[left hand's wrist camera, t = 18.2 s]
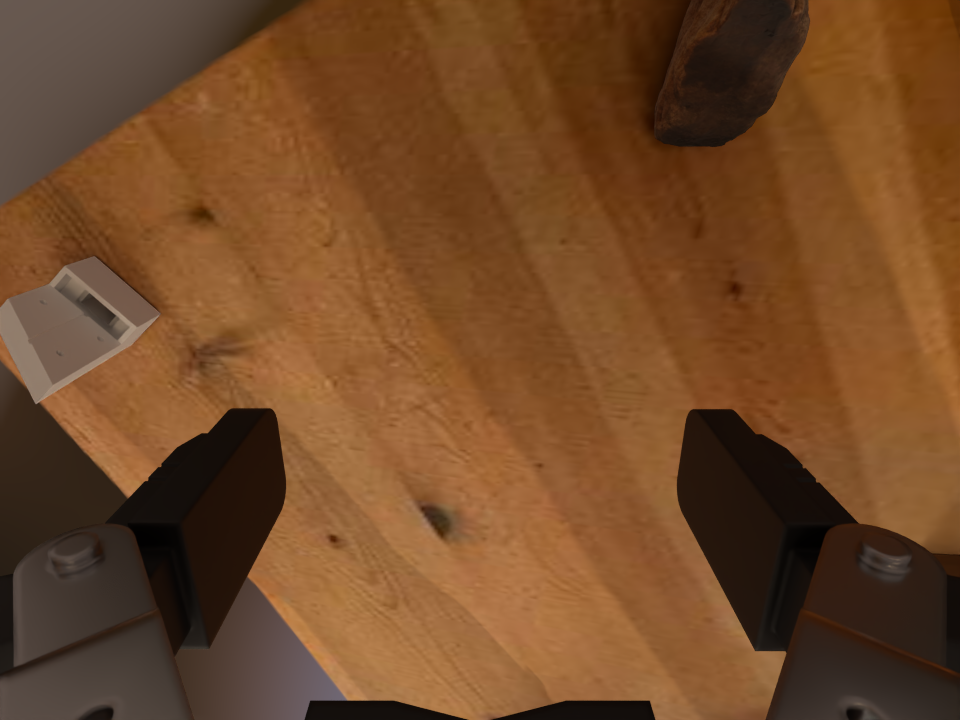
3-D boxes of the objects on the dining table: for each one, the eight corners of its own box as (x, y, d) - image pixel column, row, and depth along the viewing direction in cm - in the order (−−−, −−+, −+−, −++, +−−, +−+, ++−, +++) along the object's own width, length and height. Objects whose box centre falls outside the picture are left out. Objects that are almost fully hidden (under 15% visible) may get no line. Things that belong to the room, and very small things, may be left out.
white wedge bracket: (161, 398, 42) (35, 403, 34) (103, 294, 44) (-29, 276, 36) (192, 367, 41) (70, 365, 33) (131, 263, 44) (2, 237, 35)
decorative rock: (689, -79, 34) (777, -168, 24) (787, -57, 34) (915, -135, 24) (632, 138, 38) (687, 141, 28) (720, 155, 38) (805, 164, 28)
